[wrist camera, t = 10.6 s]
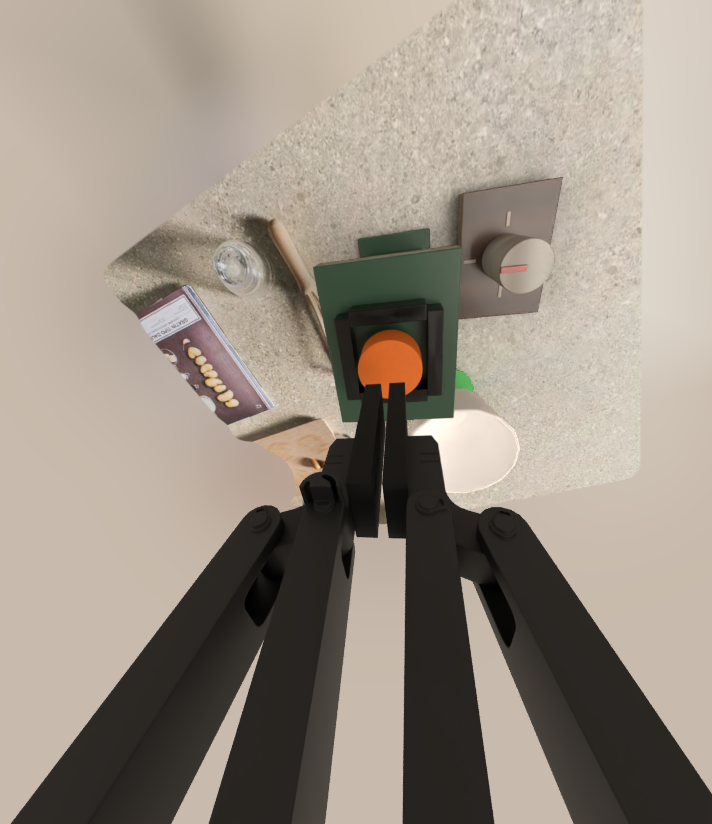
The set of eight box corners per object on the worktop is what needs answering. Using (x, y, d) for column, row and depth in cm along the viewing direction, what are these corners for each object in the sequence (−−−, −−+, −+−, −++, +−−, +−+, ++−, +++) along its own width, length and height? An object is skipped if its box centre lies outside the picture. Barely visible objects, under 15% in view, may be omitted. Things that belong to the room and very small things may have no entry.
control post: (358, 238, 40) (306, 270, 18) (428, 228, 38) (466, 249, 16) (368, 328, 46) (339, 433, 24) (429, 322, 44) (456, 429, 23)
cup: (411, 430, 56) (414, 498, 43) (395, 364, 49) (393, 420, 36) (490, 418, 52) (520, 488, 39) (485, 345, 45) (520, 399, 32)
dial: (530, 230, 34) (562, 234, 28) (522, 277, 37) (549, 292, 30) (484, 236, 35) (504, 241, 28) (479, 281, 38) (497, 297, 31)
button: (357, 332, 20) (353, 343, 18) (420, 326, 19) (422, 337, 17) (364, 386, 22) (361, 400, 20) (421, 382, 21) (423, 397, 19)
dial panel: (459, 194, 36) (463, 193, 33) (551, 179, 34) (563, 176, 31) (454, 313, 43) (457, 319, 41) (529, 306, 42) (538, 312, 39)
